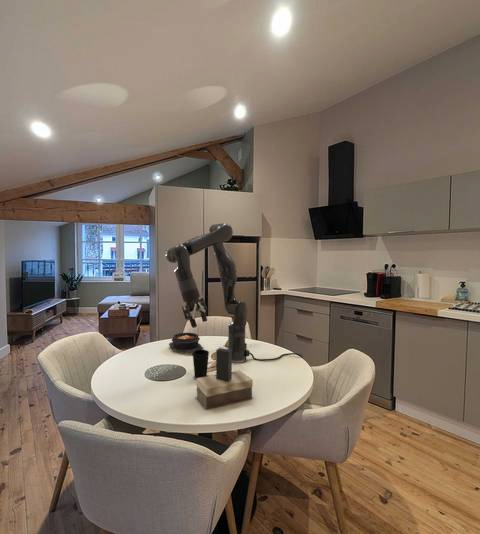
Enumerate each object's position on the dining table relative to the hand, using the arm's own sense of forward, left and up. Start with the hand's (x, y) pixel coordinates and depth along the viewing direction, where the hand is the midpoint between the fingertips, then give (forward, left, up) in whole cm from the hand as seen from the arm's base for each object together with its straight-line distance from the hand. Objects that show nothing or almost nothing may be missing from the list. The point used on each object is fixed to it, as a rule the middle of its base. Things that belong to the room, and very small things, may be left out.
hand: (200, 324), depth 138 cm
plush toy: (-41, -43, -28) cm, 66 cm away
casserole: (-10, -51, -28) cm, 59 cm away
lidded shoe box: (-4, +16, -27) cm, 32 cm away
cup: (-3, -8, -28) cm, 29 cm away
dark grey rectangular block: (-4, +16, -19) cm, 26 cm away
